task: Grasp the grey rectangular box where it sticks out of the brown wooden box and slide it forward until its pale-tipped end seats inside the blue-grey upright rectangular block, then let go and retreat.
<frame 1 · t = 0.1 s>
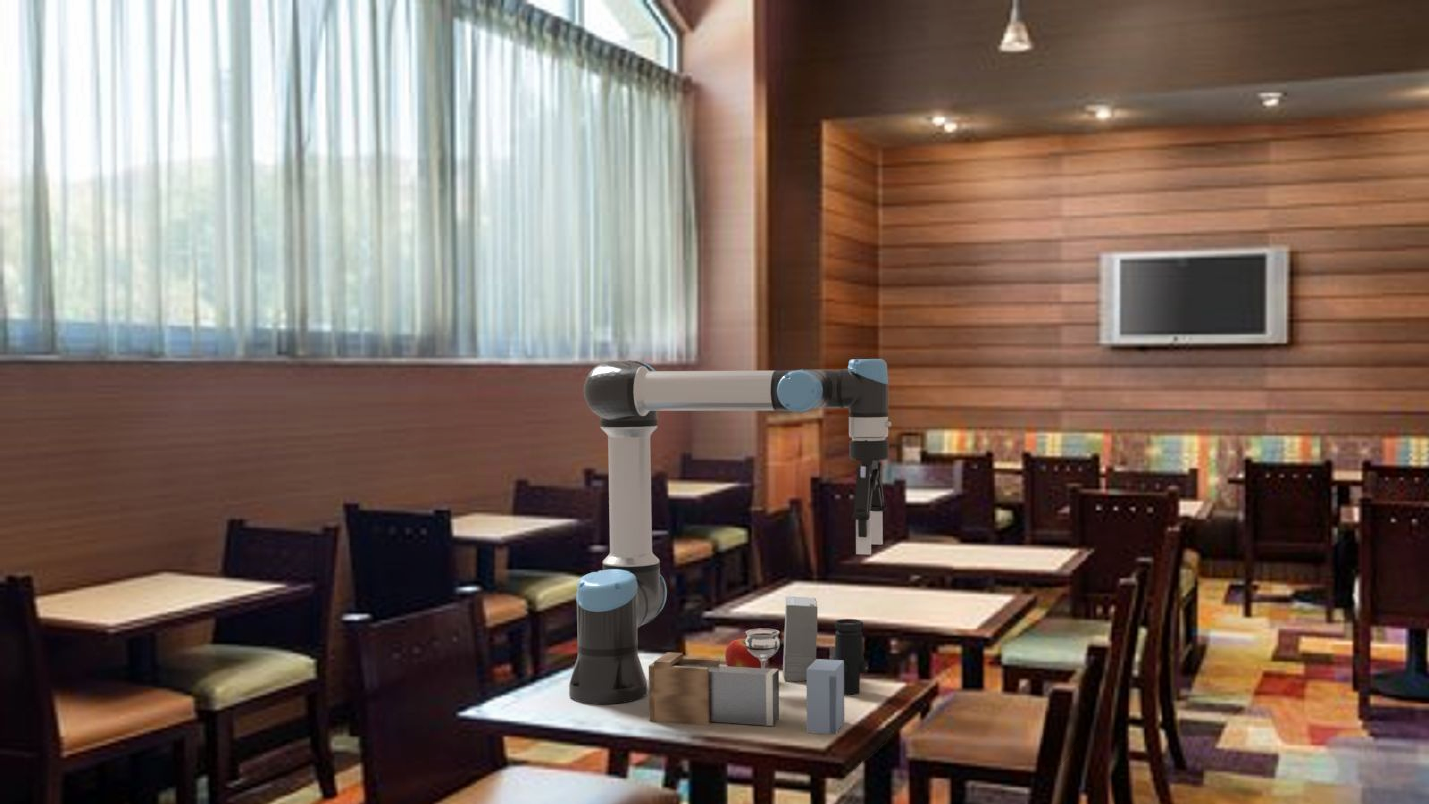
hand: (869, 549, 254), 28 cm above the table, tool pointing down, fingers open, 13 cm apart
scope: (844, 693, 257), on the table
grey rectangular box: (719, 693, 238), point 5 cm above the table, slide at 0.0 cm
blue-grey upright rectangular block: (825, 727, 232), on the table
brown wooden box: (687, 717, 239), on the table
wineglass: (763, 694, 256), on the table
skincare box: (800, 677, 269), on the table
apple: (745, 681, 266), on the table
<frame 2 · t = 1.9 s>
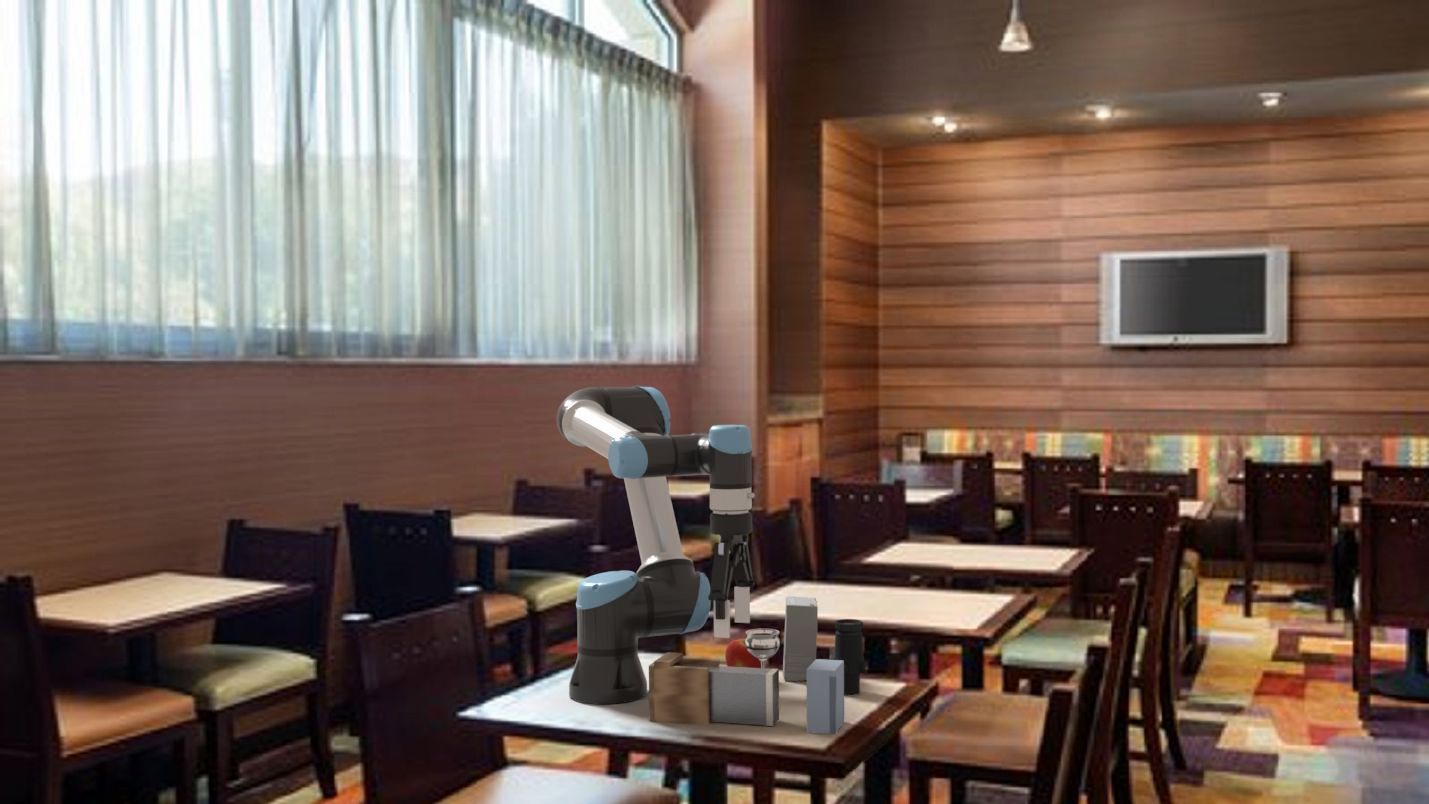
hand: (732, 629, 236), 16 cm above the table, tool pointing down, fingers open, 13 cm apart
nothing on the table moved.
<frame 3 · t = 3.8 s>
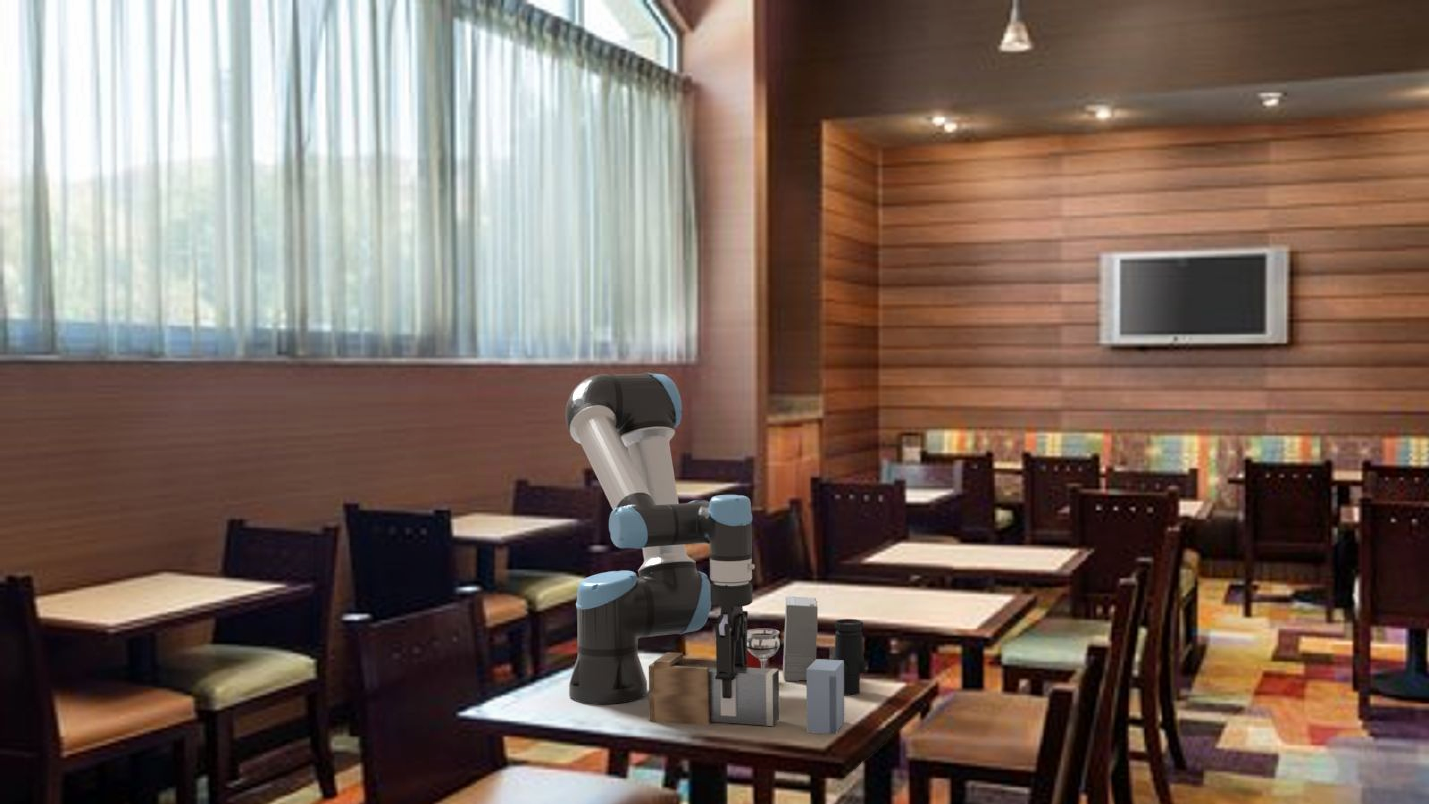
hand: (732, 711, 237), 2 cm above the table, tool pointing down, fingers closed on grey rectangular box, 4 cm apart
grey rectangular box: (719, 693, 238), point 5 cm above the table, slide at 0.0 cm, touching gripper
everything else where it was.
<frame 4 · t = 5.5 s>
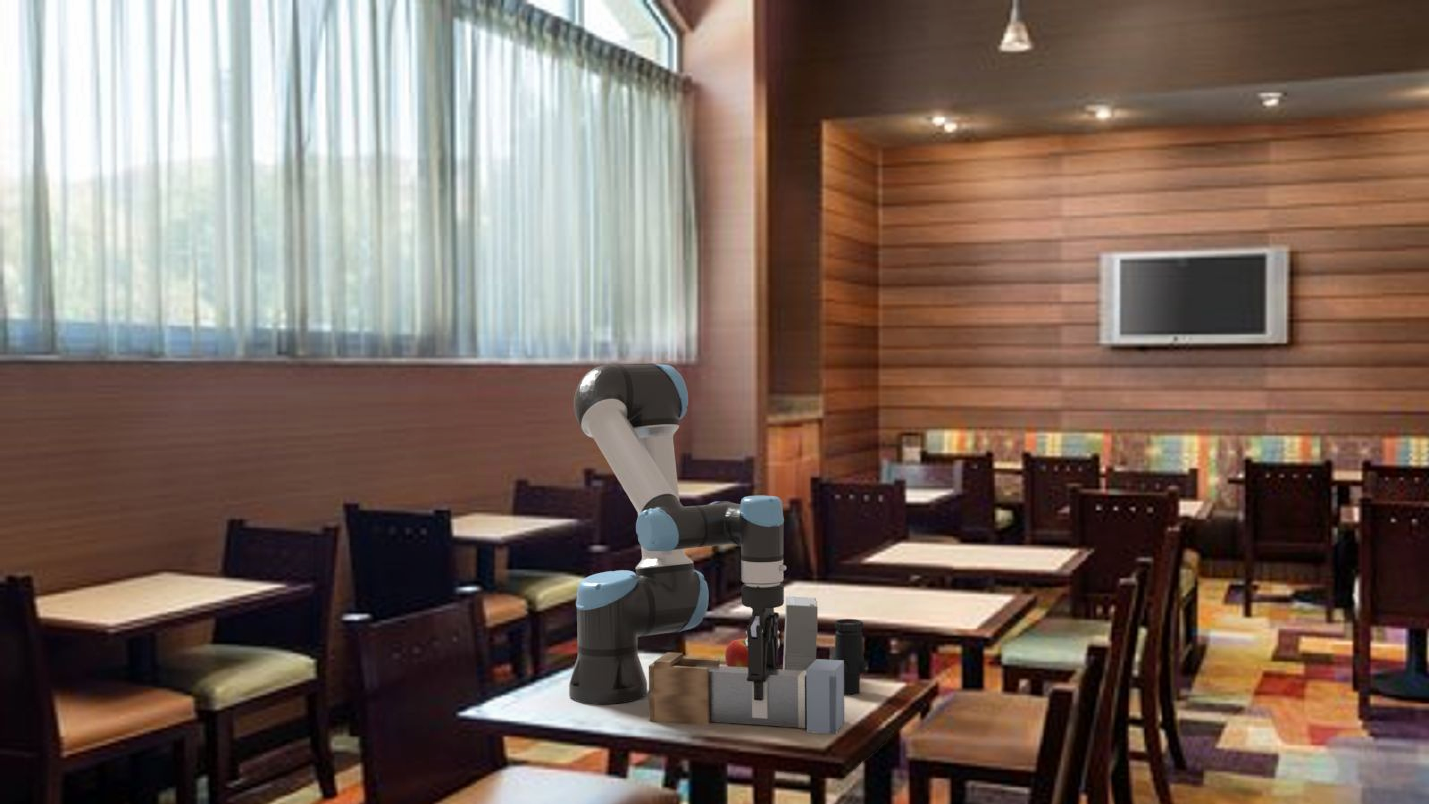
hand: (763, 713, 235), 2 cm above the table, tool pointing down, fingers closed on grey rectangular box, 4 cm apart
grey rectangular box: (750, 695, 236), point 5 cm above the table, slide at 5.8 cm, touching gripper
everything else where it was.
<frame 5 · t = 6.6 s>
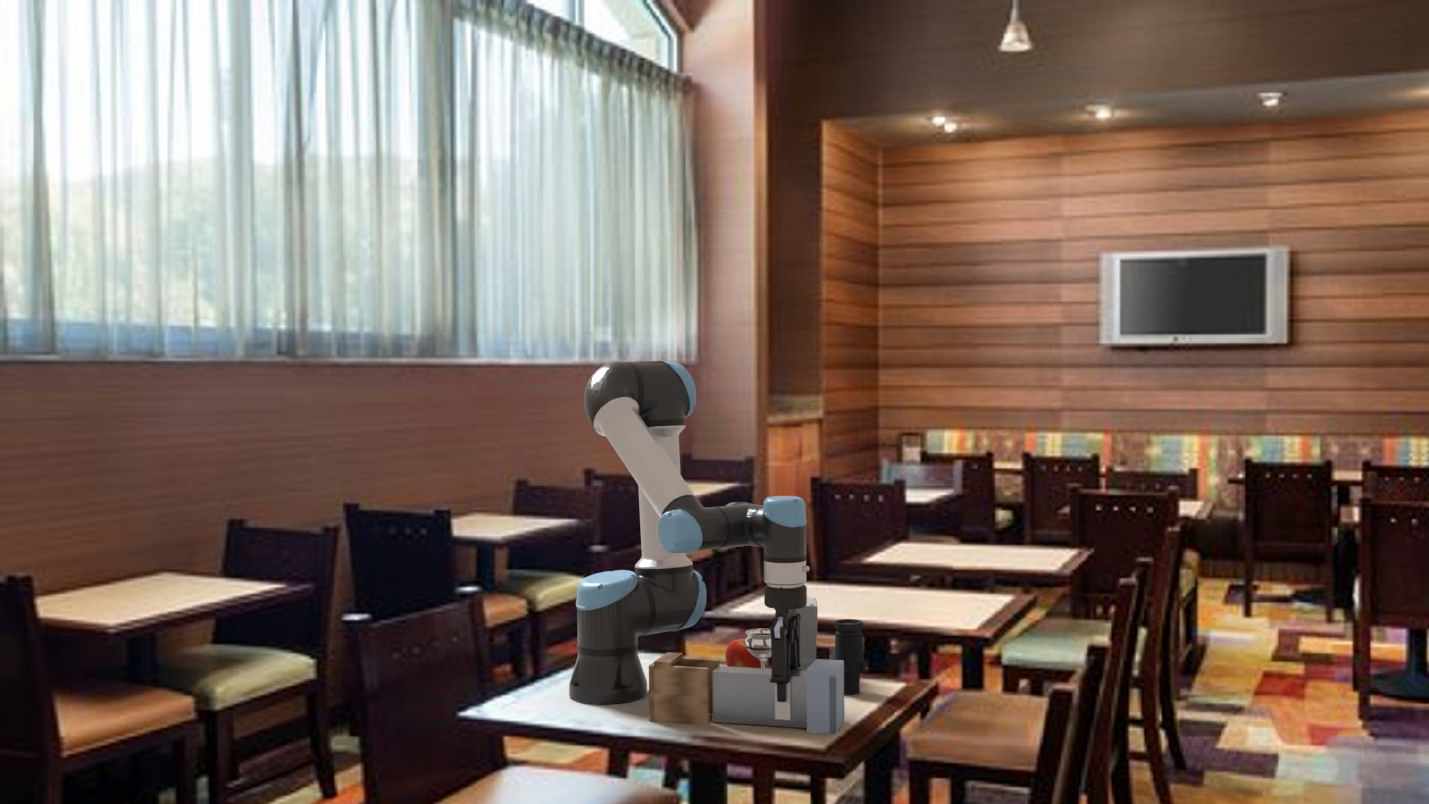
hand: (786, 714, 234), 2 cm above the table, tool pointing down, fingers closed on grey rectangular box, 4 cm apart
grey rectangular box: (772, 697, 235), point 5 cm above the table, slide at 9.9 cm, touching gripper
everything else where it was.
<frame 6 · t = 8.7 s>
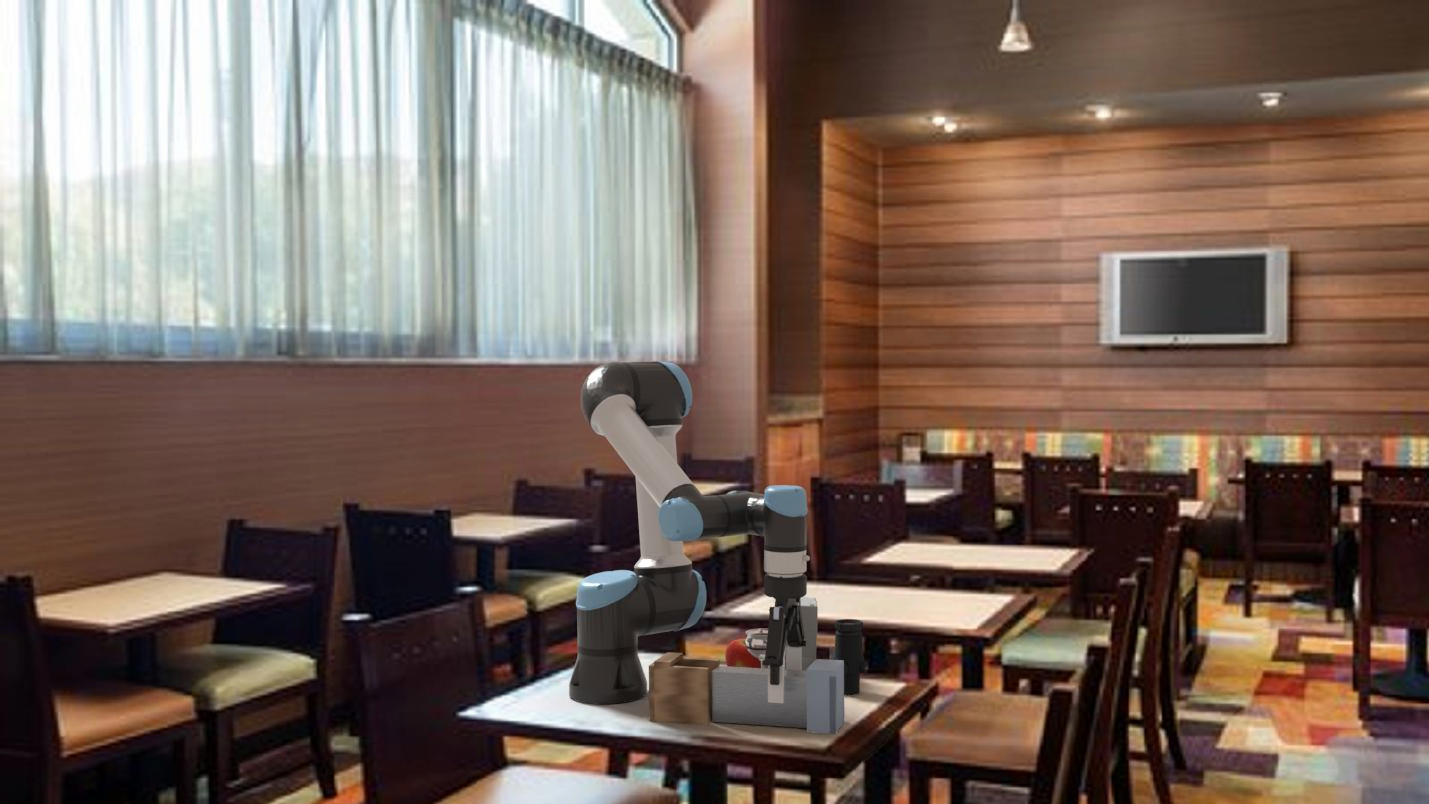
hand: (785, 692, 234), 6 cm above the table, tool pointing down, fingers open, 13 cm apart
grey rectangular box: (772, 697, 235), point 5 cm above the table, slide at 9.8 cm
everything else where it was.
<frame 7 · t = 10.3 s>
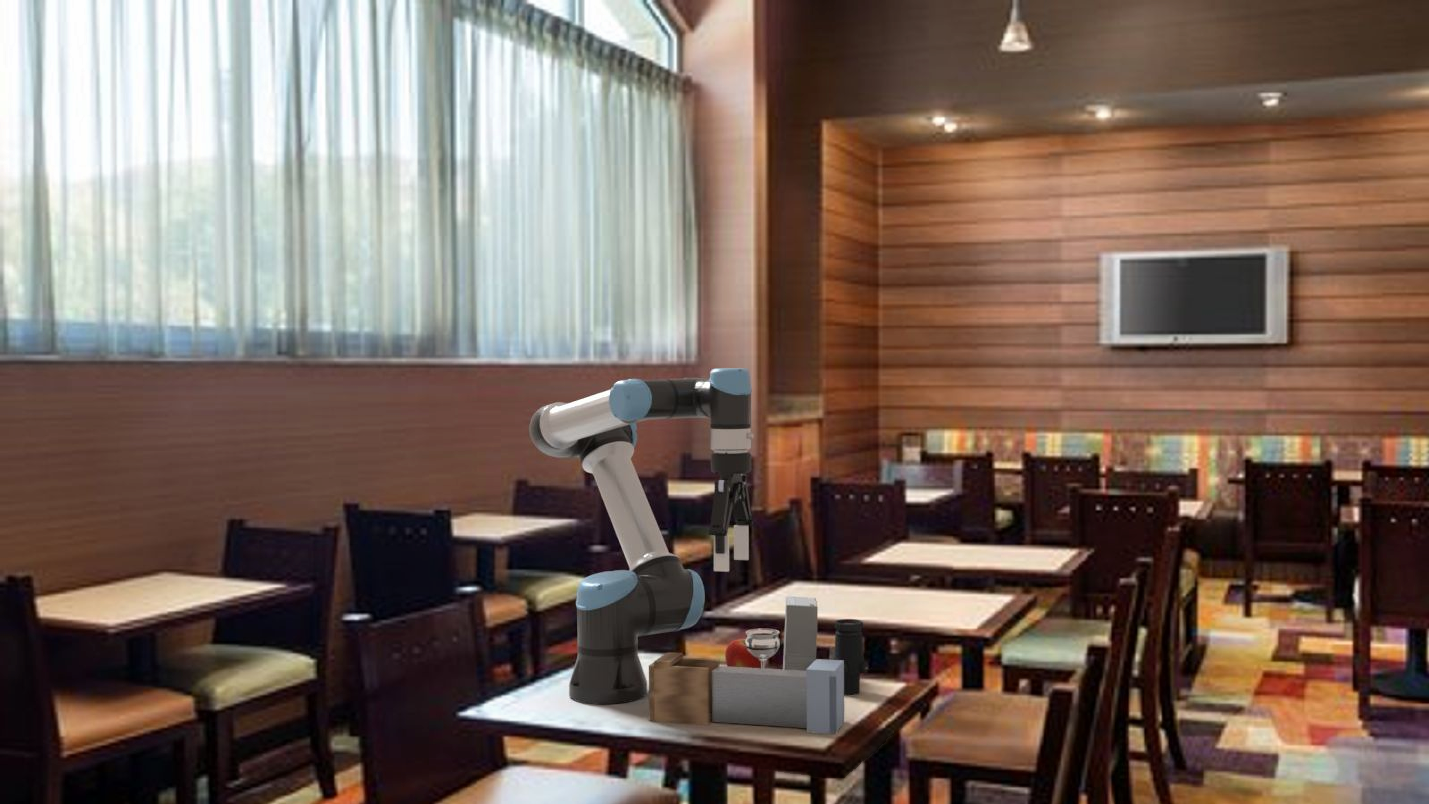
hand: (731, 565, 245), 27 cm above the table, tool pointing down, fingers open, 13 cm apart
nothing on the table moved.
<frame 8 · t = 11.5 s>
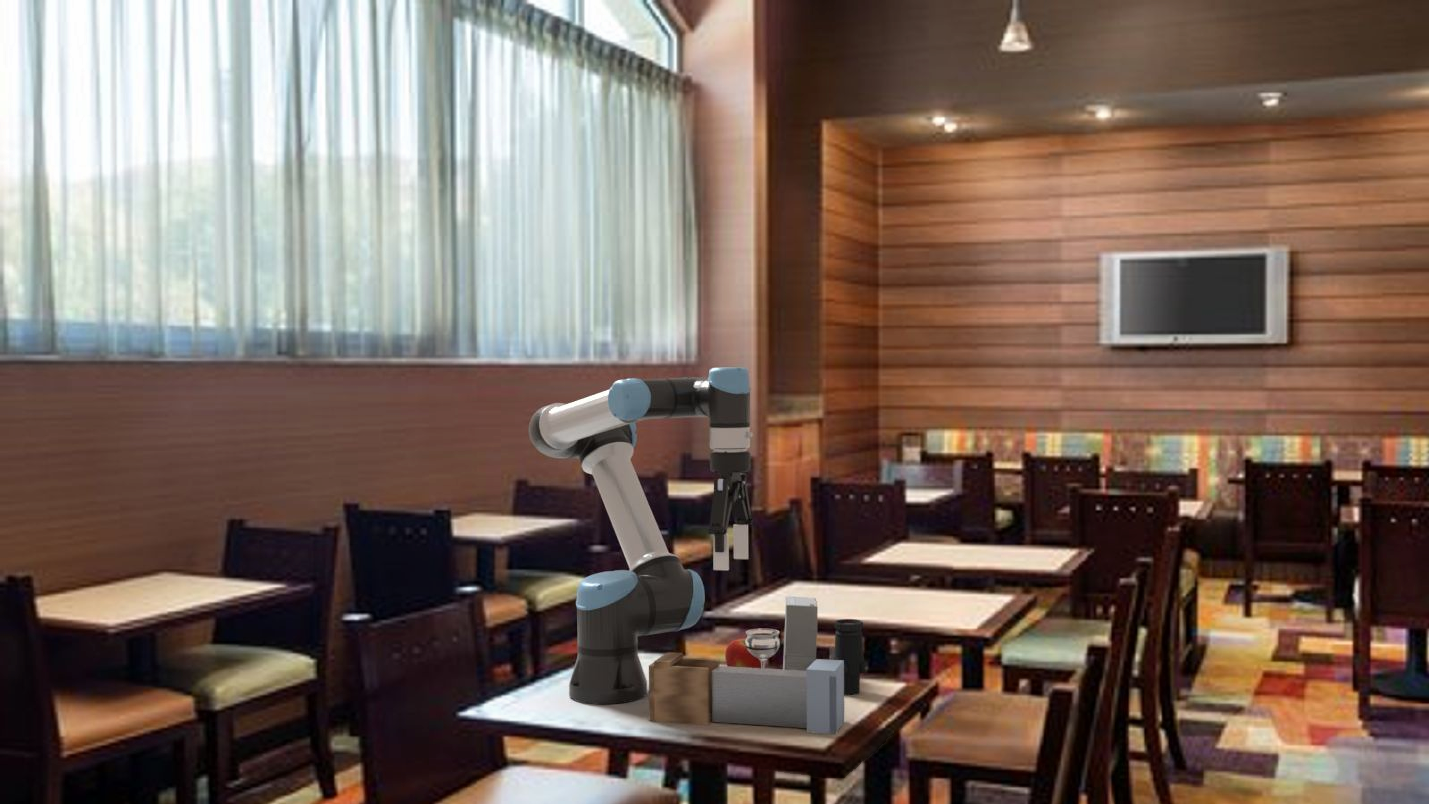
hand: (731, 564, 245), 27 cm above the table, tool pointing down, fingers open, 13 cm apart
nothing on the table moved.
at the end: grey rectangular box slide at 9.8 cm; the gripper is holding nothing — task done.
